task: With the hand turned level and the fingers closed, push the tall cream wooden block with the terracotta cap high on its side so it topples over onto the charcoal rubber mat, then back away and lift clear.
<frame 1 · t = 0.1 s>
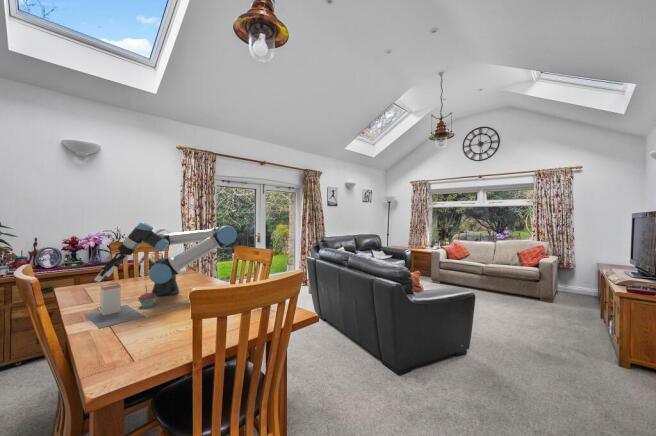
hand: (101, 278, 149), 15 cm above the table, tool tilted 35°, fingers open, 13 cm apart
cupcake: (147, 306, 149), on the table
tall block: (110, 312, 138), resting on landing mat
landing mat: (114, 315, 134), on the table
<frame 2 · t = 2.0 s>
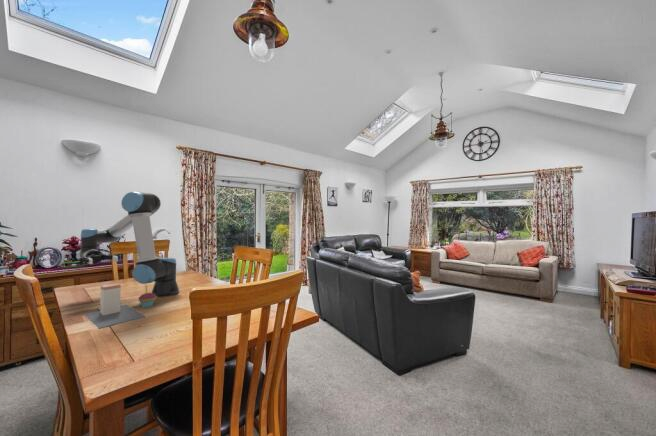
hand: (104, 260, 144), 26 cm above the table, tool horizontal, fingers open, 10 cm apart
nothing on the table moved.
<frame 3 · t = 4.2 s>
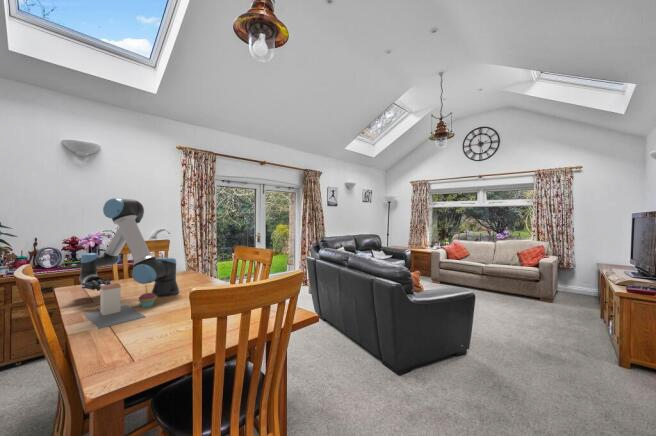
hand: (105, 288, 143), 11 cm above the table, tool horizontal, fingers closed
nothing on the table moved.
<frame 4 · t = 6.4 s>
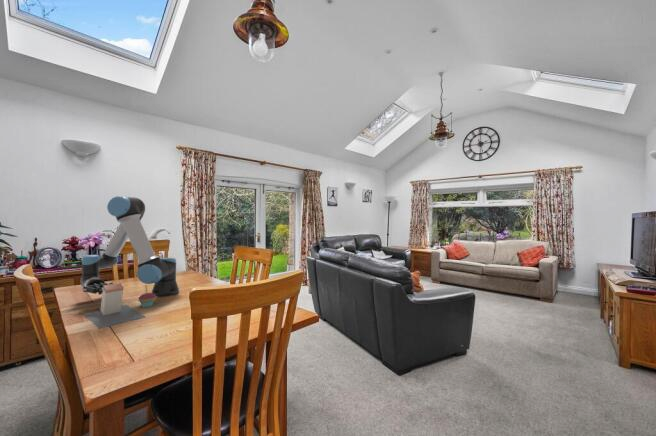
hand: (107, 292, 136), 11 cm above the table, tool horizontal, fingers closed
tall block: (110, 310, 137), point 1 cm above the table, tilted 19°, touching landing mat
everything else where it was.
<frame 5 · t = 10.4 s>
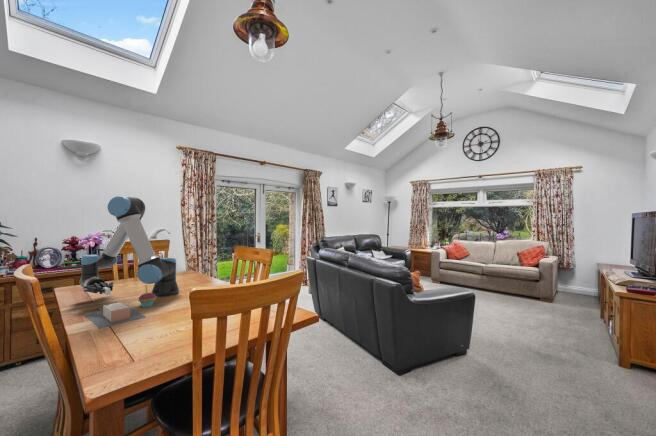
hand: (108, 291, 137), 11 cm above the table, tool horizontal, fingers closed
tall block: (112, 308, 136), point 3 cm above the table, tilted 90°, touching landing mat
everything else where it was.
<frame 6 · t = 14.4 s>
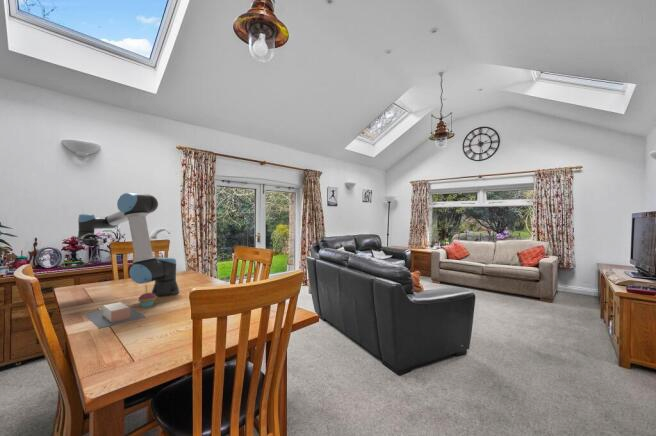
hand: (101, 242, 150), 35 cm above the table, tool horizontal, fingers closed
nothing on the table moved.
at the end: tall block tilted 90°; tall block touching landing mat; tall block inside the target area (0.4 cm from its centre), point 2.9 cm above the table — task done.
